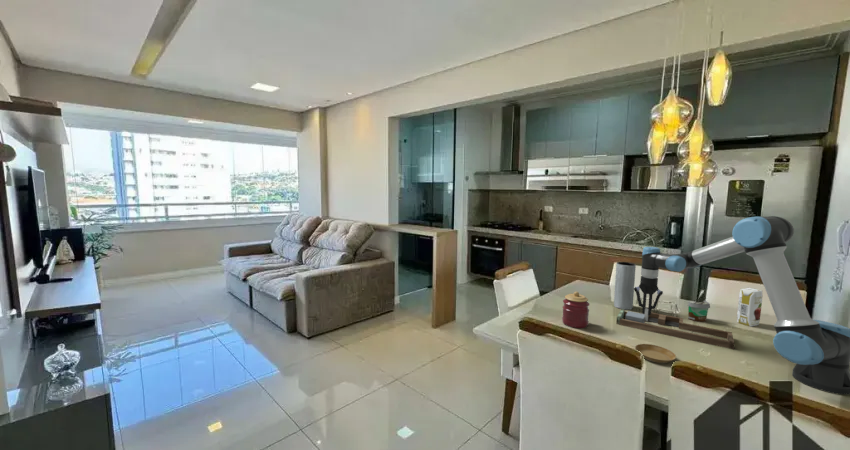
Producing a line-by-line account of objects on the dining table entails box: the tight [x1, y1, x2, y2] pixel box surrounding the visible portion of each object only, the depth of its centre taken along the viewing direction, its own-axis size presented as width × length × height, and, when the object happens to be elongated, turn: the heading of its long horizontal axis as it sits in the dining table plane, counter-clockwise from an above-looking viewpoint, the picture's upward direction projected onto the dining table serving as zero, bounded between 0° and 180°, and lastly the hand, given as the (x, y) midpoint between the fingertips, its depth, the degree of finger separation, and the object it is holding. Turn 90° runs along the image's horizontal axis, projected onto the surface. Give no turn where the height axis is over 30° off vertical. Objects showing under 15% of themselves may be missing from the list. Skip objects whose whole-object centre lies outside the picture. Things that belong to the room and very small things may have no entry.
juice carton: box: [736, 287, 763, 327], centre depth 184 cm, size 8×9×19 cm
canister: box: [561, 291, 590, 329], centre depth 183 cm, size 13×13×18 cm
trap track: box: [615, 309, 735, 350], centre depth 178 cm, size 22×47×4 cm, turn 52°
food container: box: [687, 300, 711, 323], centre depth 188 cm, size 12×6×10 cm, turn 105°
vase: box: [613, 261, 637, 311], centre depth 209 cm, size 10×10×27 cm
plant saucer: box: [634, 343, 677, 364], centre depth 148 cm, size 15×15×3 cm
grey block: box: [625, 310, 646, 324], centre depth 184 cm, size 8×8×5 cm
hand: (646, 320), depth 182 cm, fingers closed
